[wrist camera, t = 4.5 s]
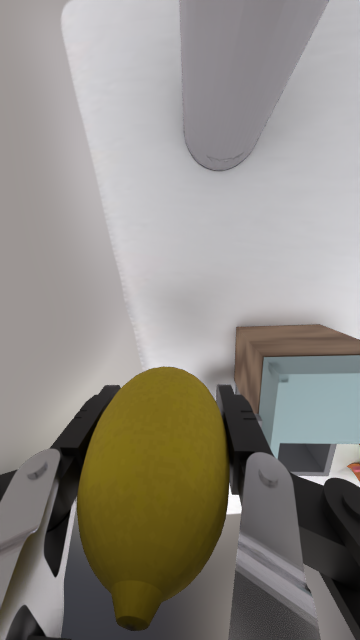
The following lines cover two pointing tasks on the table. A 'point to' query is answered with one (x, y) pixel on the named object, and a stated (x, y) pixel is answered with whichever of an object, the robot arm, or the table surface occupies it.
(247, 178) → the table surface
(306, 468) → the bin
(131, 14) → the table surface
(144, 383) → the lemon
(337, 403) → the tray
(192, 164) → the table surface
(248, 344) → the pedestal
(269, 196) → the table surface
